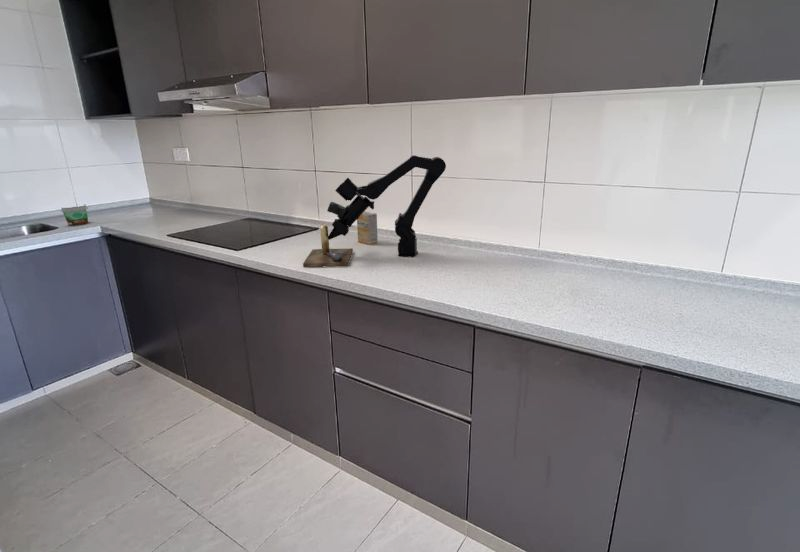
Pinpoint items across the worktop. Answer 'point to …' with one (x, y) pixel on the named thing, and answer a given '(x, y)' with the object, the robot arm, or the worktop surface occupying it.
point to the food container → (76, 215)
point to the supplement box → (367, 228)
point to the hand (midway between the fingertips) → (328, 238)
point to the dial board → (327, 258)
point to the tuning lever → (325, 244)
